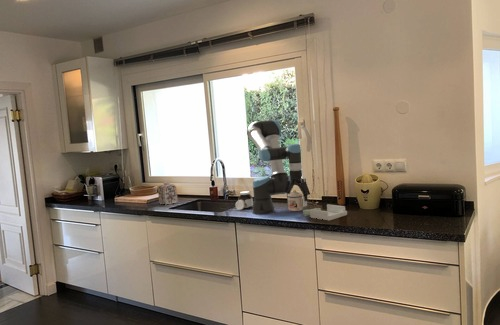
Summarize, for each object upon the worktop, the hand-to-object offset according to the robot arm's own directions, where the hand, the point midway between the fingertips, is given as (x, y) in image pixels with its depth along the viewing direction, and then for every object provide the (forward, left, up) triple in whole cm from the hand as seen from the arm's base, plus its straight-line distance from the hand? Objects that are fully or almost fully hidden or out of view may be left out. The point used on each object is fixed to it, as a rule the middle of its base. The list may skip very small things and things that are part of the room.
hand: (297, 204), depth 235 cm
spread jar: (-52, 0, -8) cm, 53 cm away
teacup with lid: (0, 0, -3) cm, 3 cm away
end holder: (+13, +12, -8) cm, 19 cm away
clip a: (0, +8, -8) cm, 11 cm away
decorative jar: (-127, -20, -8) cm, 129 cm away
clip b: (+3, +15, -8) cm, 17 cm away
